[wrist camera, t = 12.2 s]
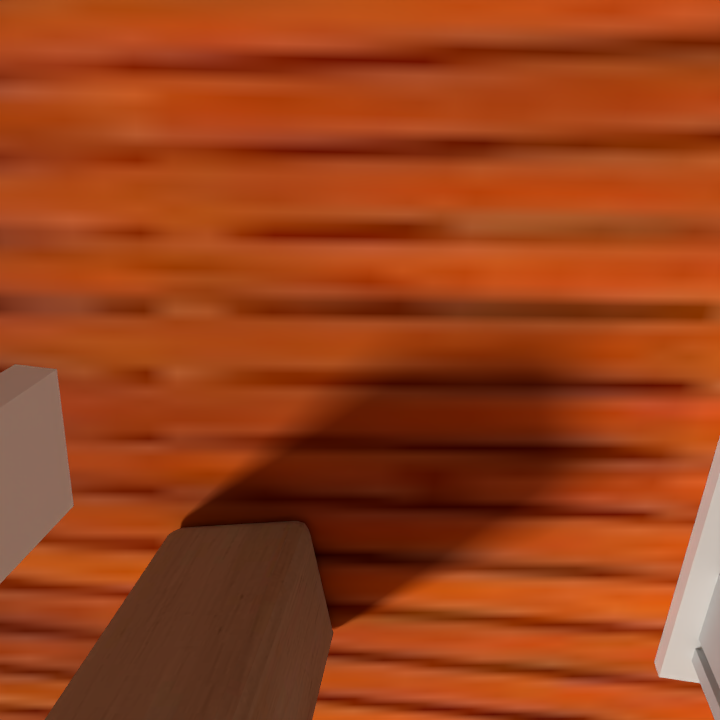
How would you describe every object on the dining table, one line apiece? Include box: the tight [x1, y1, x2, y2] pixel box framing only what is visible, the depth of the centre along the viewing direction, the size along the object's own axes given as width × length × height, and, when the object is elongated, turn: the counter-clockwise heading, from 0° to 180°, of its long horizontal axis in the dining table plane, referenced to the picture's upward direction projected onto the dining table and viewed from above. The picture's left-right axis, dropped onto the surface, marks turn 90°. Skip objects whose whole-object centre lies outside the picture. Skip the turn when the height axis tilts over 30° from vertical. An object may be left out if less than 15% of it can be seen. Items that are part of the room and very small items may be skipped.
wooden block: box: [45, 521, 333, 720], centre depth 38 cm, size 10×10×20 cm
